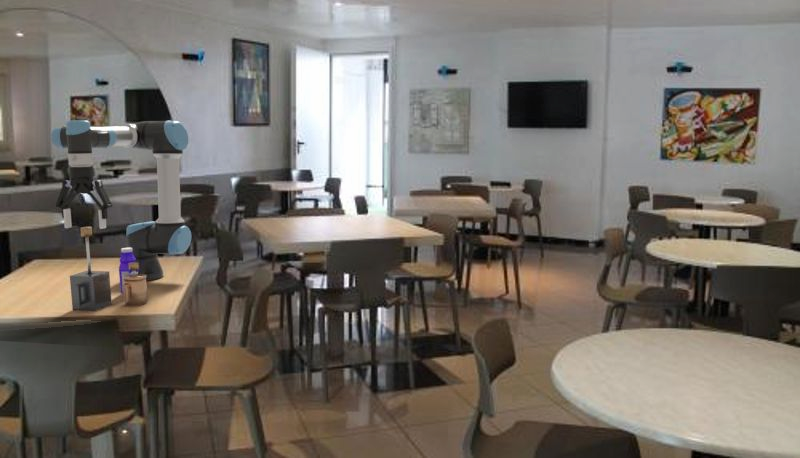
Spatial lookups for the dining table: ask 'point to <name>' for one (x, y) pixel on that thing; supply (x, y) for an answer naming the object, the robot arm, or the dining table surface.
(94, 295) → the cube with square hole
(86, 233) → the plunger tall
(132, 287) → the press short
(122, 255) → the bottle
